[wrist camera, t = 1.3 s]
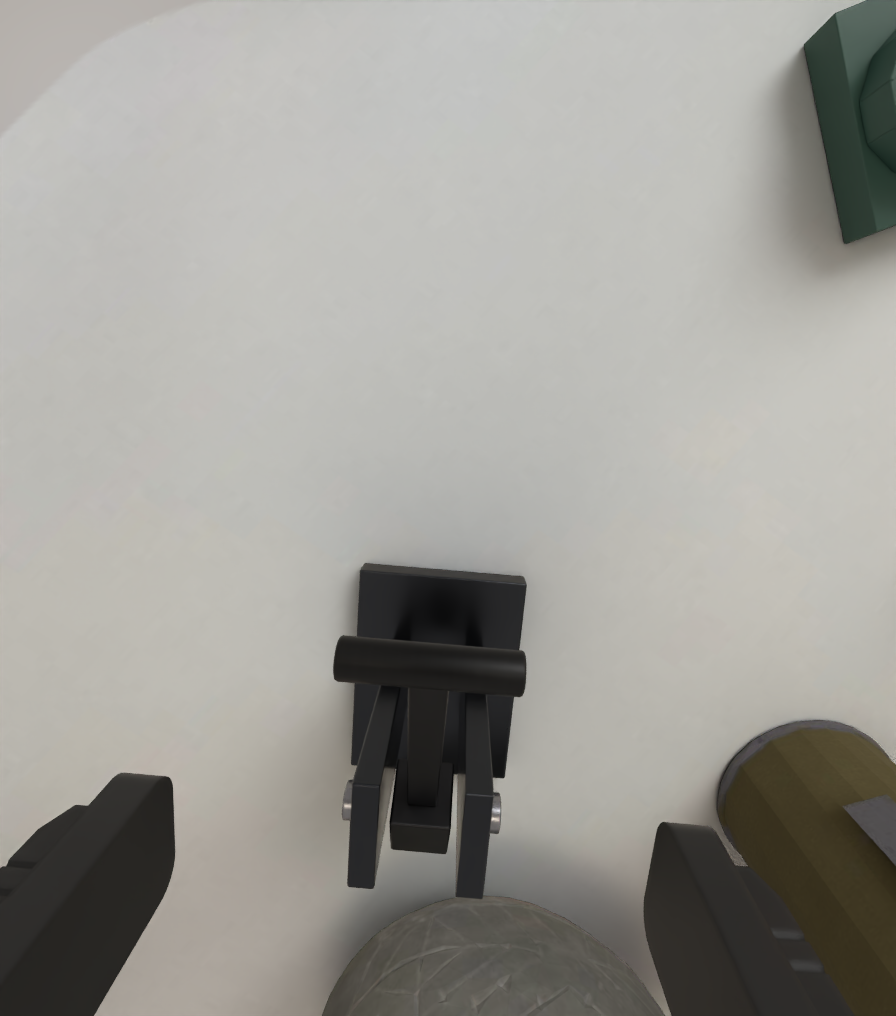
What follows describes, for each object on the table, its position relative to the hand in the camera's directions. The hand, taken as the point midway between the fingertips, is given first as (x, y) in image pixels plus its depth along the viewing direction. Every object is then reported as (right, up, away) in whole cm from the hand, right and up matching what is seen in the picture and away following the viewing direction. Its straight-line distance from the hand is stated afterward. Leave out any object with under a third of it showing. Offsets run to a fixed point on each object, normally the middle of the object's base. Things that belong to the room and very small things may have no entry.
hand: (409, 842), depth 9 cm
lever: (0, -2, +10) cm, 11 cm away
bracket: (0, -4, +23) cm, 24 cm away
